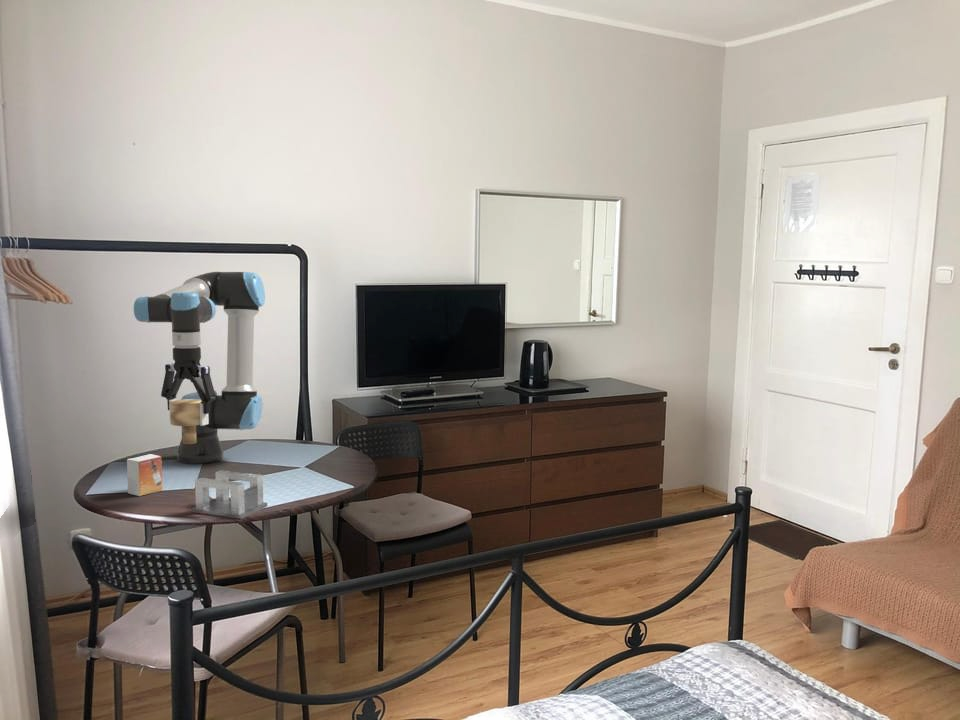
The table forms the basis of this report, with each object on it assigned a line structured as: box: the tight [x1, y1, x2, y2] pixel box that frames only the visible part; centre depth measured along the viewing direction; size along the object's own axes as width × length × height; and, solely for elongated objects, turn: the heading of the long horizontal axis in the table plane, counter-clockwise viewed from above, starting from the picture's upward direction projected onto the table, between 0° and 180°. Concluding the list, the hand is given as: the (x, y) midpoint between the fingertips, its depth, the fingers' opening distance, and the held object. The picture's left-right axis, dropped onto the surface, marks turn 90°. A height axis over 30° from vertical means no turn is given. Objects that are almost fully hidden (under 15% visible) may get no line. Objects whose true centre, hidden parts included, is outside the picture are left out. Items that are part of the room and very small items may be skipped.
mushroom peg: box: [169, 398, 202, 444], centre depth 226 cm, size 10×10×12 cm
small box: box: [126, 453, 163, 497], centre depth 232 cm, size 8×6×10 cm
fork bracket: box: [191, 469, 268, 520], centre depth 217 cm, size 16×12×9 cm
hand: (189, 423), depth 226 cm, fingers closed on mushroom peg, 10 cm apart
